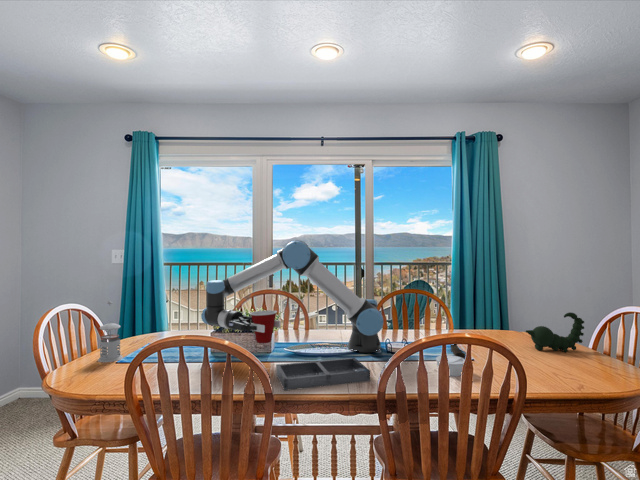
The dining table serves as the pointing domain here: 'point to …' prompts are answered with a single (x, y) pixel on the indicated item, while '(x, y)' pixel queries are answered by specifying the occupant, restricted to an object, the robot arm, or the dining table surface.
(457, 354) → the hand tool
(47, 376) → the dining table surface
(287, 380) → the tray
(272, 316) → the plastic cup
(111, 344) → the french press
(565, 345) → the toy figurine
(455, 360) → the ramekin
